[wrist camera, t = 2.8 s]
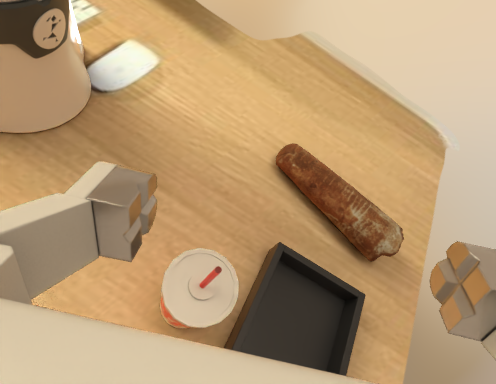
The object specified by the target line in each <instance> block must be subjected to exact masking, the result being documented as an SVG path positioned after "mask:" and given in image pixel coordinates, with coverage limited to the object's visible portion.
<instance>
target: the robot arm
mask: <svg viewBox="0 0 496 384" xmlns="http://www.w3.org/2000/svg"><path fill="white" fill-rule="evenodd" d="M83 60H84V47H83V43H82V41H81V40H80V36H79V32H78V28H77V24H76V21H75V17H74V13H73V9H72V6H71V2H70V0H0V132H9V133H30V132H38V131H43V130H47V129H51V128H54V127H57V126H59V125H61V124H63V123H66V122H67V121H69V120H71V119H72V118H74V117H75V116H76V115H77V114H78V113H79V112H80V111H81V110H82V109H83V108H84V107H85V105H86V104H87V102H88V100H89V97H90V93H91V81H90V77H89V75H88V72H87V70H86V68H85V65H84V62H83ZM156 188H157V176H156V175H155V174H153V173H149V172H145V171H141V170H137V169H133V168H129V167H125V166H121V165H116V164H112V163H107V162H103V161H100V162H96V163H95V164H94V165H93V166H92V167H91V168H90V169H89V170H88V171H87V172H86V173H85V174H84V175H83V176H82V177H81V178H80V179H79V180H77V181H76V182H75V183H74V184H73V185H72V186H71V187H70V188H69V189H68V190H67V191H66V192H65V193H64V194H60V193H55V194H52V195H49V196H46V197H43V198H40V199H36V200H33V201H30V202H27V203H24V204H21V205H17V206H14V207H11V208H8V209H5V210H2V211H0V384H379V383H374V382H370V381H365V380H361V379H357V378H352V377H348V376H343V375H339V374H335V373H330V372H326V371H321V370H317V369H312V368H308V367H304V366H299V365H295V364H290V363H286V362H282V361H277V360H273V359H268V358H264V357H260V356H255V355H251V354H246V353H242V352H238V351H233V350H229V349H224V348H220V347H216V346H211V345H207V344H202V343H198V342H193V341H189V340H185V339H180V338H176V337H171V336H167V335H162V334H158V333H154V332H149V331H145V330H140V329H136V328H132V327H127V326H123V325H118V324H114V323H109V322H105V321H101V320H96V319H92V318H87V317H83V316H78V315H74V314H70V313H65V312H61V311H56V310H52V309H47V308H43V307H39V306H34V305H33V304H32V301H31V299H33V298H34V297H36V296H38V295H39V294H41V293H43V292H44V291H46V290H47V289H49V288H51V287H52V286H54V285H55V284H57V283H59V282H60V281H62V280H63V279H65V278H67V277H68V276H70V275H71V274H73V273H75V272H76V271H78V270H80V269H81V268H83V267H84V266H86V265H88V264H89V263H91V262H92V261H94V260H96V259H97V258H99V256H103V257H108V258H113V259H118V260H123V261H128V262H132V260H133V258H134V257H135V255H136V253H137V251H138V250H139V248H140V246H141V245H142V235H144V234H146V233H148V232H149V230H150V229H151V227H152V225H153V222H154V219H155V216H156V210H157V199H156V198H155V197H154V195H153V193H154V192H155V190H156ZM446 253H447V259H445V260H443V261H440V262H438V263H437V264H436V266H435V267H434V269H433V270H432V272H431V277H430V288H431V291H432V294H433V296H434V297H435V298H436V299H437V300H438V301H439V302H440V303H441V304H442V306H441V308H440V310H439V311H440V314H441V316H442V319H443V321H444V324H445V326H446V329H447V331H448V333H449V334H453V335H457V336H461V337H465V338H469V339H473V340H477V341H481V344H482V345H483V346H484V347H485V348H486V350H487V351H488V352H489V353H490V354H491V355H492V357H493V358H494V359H495V360H496V249H490V248H486V247H481V246H476V245H472V244H467V243H462V242H458V241H457V242H455V243H454V244H452V245H451V246H450V247H449V249H448V250H447V251H446Z"/></svg>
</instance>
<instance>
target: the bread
mask: <svg viewBox="0 0 496 384" xmlns="http://www.w3.org/2000/svg"><path fill="white" fill-rule="evenodd" d="M276 165H277V166H278V167H279V168H280V169H281V170H282V171H283V172H284V173H285V174H286V175H287V176H288V177H289V178H290V179H291V180H292V181H293V182H294V183H295V184H296V185H297V187H298V188H299V189H300V190H301V191H302V192H303V193H304V194H305V195H306V196H307V197H308V198H309V199H310V200H311V201H312V202H313V203H314V204H315V205H316V206H317V207H318V208H319V209H320V210H321V211H322V212H323V213H324V214H325V215H326V216H327V217H328V218H329V219H330V220H331V222H332V223H333V224H335V226H336V227H337V228H339V230H340V231H341V232H342V233H343V234H344V235H345V236H346V237H347V238H348V239H349V241H350V242H351V243H352V244H353V245H354V246H355V247H356V248H357V249H358V250H359V251H360V252H361V253H362V254H363V255H364V256H365V257H366V258H367V259H368V260H369V261H374V260H376V259H377V258H378V257H380V256H381V255H385V256H393V255H395V254H396V253H397V252H398V251H399V248H400V245H401V243H402V241H403V240H404V237H403V233H402V228H401V227H400V226H399V225H398V224H396V223H395V222H394V221H393V220H392V219H391V218H390V217H389V216H387V215H386V214H385V213H383V212H382V211H381V210H380V209H379V208H378V207H377V206H375V205H374V204H373V203H372V202H370V201H369V200H368V199H366V198H365V197H364V196H363V195H361V194H360V193H359V192H358V191H357V190H356V189H355V188H353V187H352V186H351V185H350V184H348V183H347V182H346V181H344V180H343V179H342V178H341V177H339V176H338V175H337V174H336V173H334V172H333V171H332V170H331V169H329V168H328V167H327V166H326V165H324V164H323V163H322V162H320V161H319V160H318V159H316V158H315V157H314V156H313V155H311V154H310V153H309V152H307V151H306V150H305V149H303V148H302V147H300V146H299V145H298V144H289V145H287V146H285V147H284V148H282V149H281V151H280V152H279V153H278V155H277V156H276Z"/></svg>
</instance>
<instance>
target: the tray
mask: <svg viewBox="0 0 496 384" xmlns="http://www.w3.org/2000/svg"><path fill="white" fill-rule="evenodd" d="M364 299H365V294H364V293H362V292H360V291H359V290H357V289H355V288H354V287H352V286H350V285H349V284H347V283H346V282H344V281H342V280H341V279H339V278H337V277H336V276H334V275H333V274H331V273H329V272H328V271H326V270H324V269H323V268H321V267H320V266H318V265H316V264H315V263H313V262H311V261H310V260H308V259H307V258H305V257H303V256H302V255H300V254H298V253H297V252H295V251H294V250H292V249H290V248H289V247H287V246H285V245H284V244H282V243H281V242H279V243H278V244H276V245H275V246H274V247H273V248H271V249H270V250H269V252H268V254H267V256H266V258H265V261H264V263H263V265H262V267H261V269H260V271H259V274H258V276H257V278H256V280H255V282H254V284H253V287H252V289H251V291H250V293H249V295H248V297H247V300H246V302H245V304H244V306H243V308H242V310H241V313H240V315H239V317H238V319H237V321H236V323H235V326H234V328H233V330H232V332H231V334H230V337H229V339H228V341H227V343H226V345H225V347H224V349H229V350H233V351H238V352H242V353H246V354H251V355H255V356H260V357H264V358H268V359H273V360H277V361H282V362H286V363H290V364H295V365H299V366H304V367H308V368H312V369H317V370H321V371H326V372H330V373H335V374H339V375H343V376H346V373H347V369H348V365H349V361H350V357H351V353H352V349H353V344H354V340H355V336H356V332H357V328H358V324H359V320H360V316H361V311H362V307H363V303H364Z"/></svg>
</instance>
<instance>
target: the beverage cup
mask: <svg viewBox="0 0 496 384" xmlns="http://www.w3.org/2000/svg"><path fill="white" fill-rule="evenodd" d="M238 290H239V282H238V278H237V275H236V272H235V269H234V268H233V266H232V265H231V264H230V262H229V261H228V260H227V259H226V257H224V256H222V255H221V254H219V253H217V252H216V251H214V250H209V249H203V248H197V249H192V250H188V251H185V252H183V253H182V254H180V255H179V256H178V257H176V258H175V259H173V260H172V262H171V264H170V265H169V267H168V268H167V270H166V271H165V273H164V277H163V282H162V288H161V293H162V296H161V302H160V310H161V315H162V317H163V318H164V319H165V321H166V322H167V323H168V324H170V325H171V326H173V327H175V328H183V329H185V328H190V327H194V328H206V327H209V326H212V325H215V324H218V323H220V322H221V321H222V320H223V319H224V318H226V317H227V316H228V315H229V314H230V313H231V312H232V310H233V308H234V306H235V303H236V301H237V299H238Z"/></svg>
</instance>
